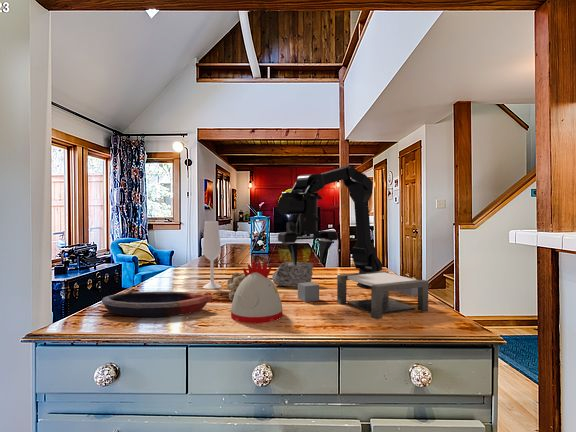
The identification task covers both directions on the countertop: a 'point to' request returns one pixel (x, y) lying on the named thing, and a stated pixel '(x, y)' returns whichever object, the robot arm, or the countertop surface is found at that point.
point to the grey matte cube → (308, 291)
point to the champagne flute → (211, 249)
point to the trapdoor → (384, 281)
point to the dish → (155, 303)
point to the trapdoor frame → (384, 296)
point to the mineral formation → (234, 283)
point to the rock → (293, 274)
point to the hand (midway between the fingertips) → (308, 263)
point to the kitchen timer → (256, 297)
